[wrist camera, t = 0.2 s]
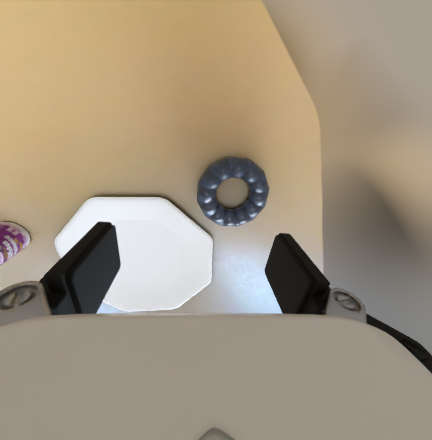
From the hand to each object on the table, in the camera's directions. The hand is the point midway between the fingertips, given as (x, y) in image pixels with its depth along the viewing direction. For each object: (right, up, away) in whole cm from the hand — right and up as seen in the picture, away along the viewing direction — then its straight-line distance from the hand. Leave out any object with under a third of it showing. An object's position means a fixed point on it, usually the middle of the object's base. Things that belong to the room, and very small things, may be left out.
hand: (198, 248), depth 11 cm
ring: (+4, +6, +19) cm, 20 cm away
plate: (-14, -6, +26) cm, 30 cm away
